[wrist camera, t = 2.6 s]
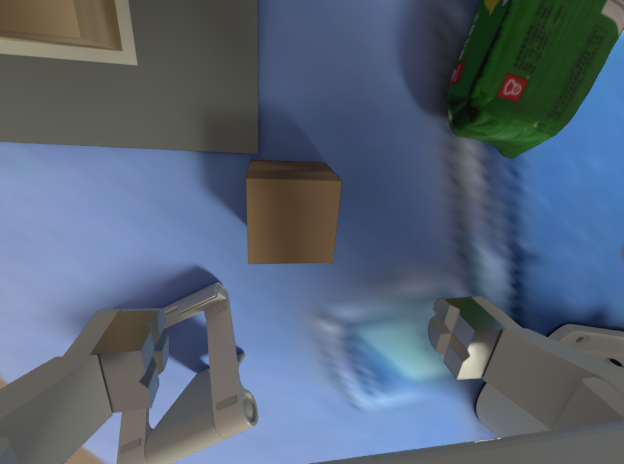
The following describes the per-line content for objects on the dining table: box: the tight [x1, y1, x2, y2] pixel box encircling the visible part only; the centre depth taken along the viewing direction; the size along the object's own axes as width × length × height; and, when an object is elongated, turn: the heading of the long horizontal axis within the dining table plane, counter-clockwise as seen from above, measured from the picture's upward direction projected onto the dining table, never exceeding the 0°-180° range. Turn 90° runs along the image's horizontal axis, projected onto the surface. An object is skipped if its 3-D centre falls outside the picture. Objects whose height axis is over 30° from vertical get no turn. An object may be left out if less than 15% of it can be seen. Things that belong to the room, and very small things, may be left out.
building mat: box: [0, 0, 258, 154], centre depth 15 cm, size 16×14×1 cm
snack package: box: [447, 0, 624, 159], centre depth 16 cm, size 7×16×5 cm, turn 166°
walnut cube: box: [246, 160, 342, 264], centre depth 19 cm, size 5×5×5 cm
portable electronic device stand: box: [117, 282, 258, 464], centre depth 21 cm, size 9×8×8 cm
